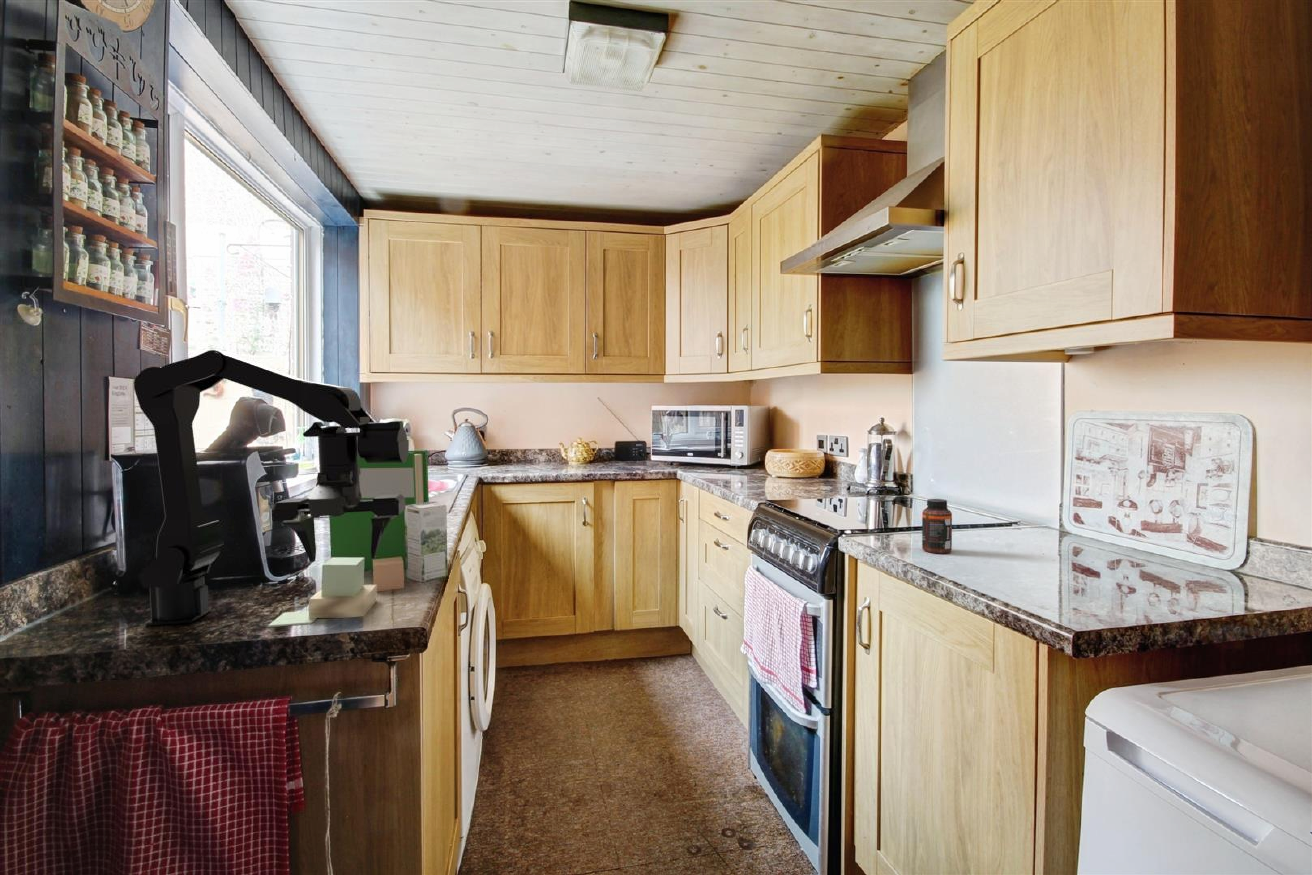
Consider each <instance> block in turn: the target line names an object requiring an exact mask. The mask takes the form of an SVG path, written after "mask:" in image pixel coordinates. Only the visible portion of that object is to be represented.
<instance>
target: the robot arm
mask: <svg viewBox="0 0 1312 875" xmlns="http://www.w3.org/2000/svg"><path fill="white" fill-rule="evenodd" d="M223 380H228V381H230V382H233V383H236V384H239V385H241V386H242V385H243V386H245V387H247V388H251V389H253V390H256V391H259V392H262V393H265V394H268V395H270V396H274V397H276V398H280V399H282V400H286V401H288V402H290V403H292V405H295V406H296V407H298V409H300V410H302V411H303V412H304V413H307V414H308V415H310V416H312V417H314V418H315V419H318V421H314V422H313V423H312V424H311V426H310V427H309V428H307V429H306V430H305V431H304V432H303V433H302V435H303V436H304V437H306V438H311V437H313V438H315V437H316V438H317V440H318V441H317V443H318V465H319V467H318V468H319V472H317V476H316V485H315V486H314V487H313V488H312V489H311V491H310V492H309V493H308V495H307V497H302V498H301V497H299V498H286V499H283V500H281V501H280V500H279V501H278V502H277V501H276V502H275V503H274V505H273V506H272V508H271V521H273V522H281V525H282V526H283V527H288V528H290V529H291V530H293V532H294V533H295V534H296V536H297V537H298V540H299V541H300V543H301V544H302V547H303V550H304V551H305V554H306V556H307V558H308V559H309V562H310V563H314V562H316V556H317V554H316V553H317V548H316V546H317V545H316V534H315V533H316V531H315V518H320V517H329V516H333V517H338V516H341V515H343V514H344V513H346V512H368V511H372V512H373V513H374V514H375V515H376V516H375V517H373V518H372V519H371V524H372V538H371V558H372V559H374V558H375V557H376V554H377V551H378V548H379V545H380V542H381V539H382V536H383V534H384V531H385V529H386V527H387V525H388V523H389V521H390V520H392V519H393V518H395V517H396V516H397V515H399V514H401V513H402V512H403V511H405V510H406V509H405V498H404V497H403V496H402V495H401V494H392V495H379V496H377V497H375V498H374V499H373V500H363V501H360V500H361V499H362V495H361V492H360V479H359V475H360V474H361V471H360V468H359V456H360V457H361V458H364V459H365V461H366V462H367V463H400V462H405V461H406V460H407V457H408V452H409V451H410V449H409V448H410V444H409V439H408V437H407V436H408V434H407V433H406V430H405V428H404V421H403V420H393V421H387V422H375V421H374V420H373V418H372V416H370V415H369V413H368V412H367V411H366V410H365V409H364V408H363V406H362V402H361V399H360V396H359V395H358V393H357V391H355V390H354V389H352V388H350V387H346V386H340V385H334V384H331V383H330V384H329V383H324V382H316V381H310V380H305V379H302V378H300V377H296V376H293V375H291V374H288V373H285V372H282V371H279V370H276V369H273V368H271V367H268V366H264V365H263V364H259V363H257V362H254V361H251V360H248V359H245V358H243V357H239V356H237V355H236V354H234V353H233V352H230V351H223V350H216V349H209V350H207V351H205V352H202V353H201V354H198V355H195V356H193V357H188V358H186V359H181V360H179V361H175V362H171V363H167V364H165V365H163V366H149V367H145V369H142V370H141V371H140V372H139V374H138V375H136V376H135V377H134V379H133V389H134V393H135V396H136V398H137V399H136V400H137V402H138V405H139V408H140V411H142V413H143V414H144V415H145V417H146V418H147V419H148V421H149V422H150V423H151V425H152V427H153V431H154V440H155V446H156V447H155V448H156V455H157V464H158V470H159V477H160V478H159V479H160V486H161V495H162V502H163V509H164V520H163V522H162V525H161V527H160V530H159V532H158V535H157V537H156V538H157V539H156V552H155V558H154V559H153V560H152V561H151V562H150V563H149V564H148V565H147V566H146V567H145V568H144V569H143V570H142V571H141V572H140V573H139V574H138V579H139V581H140V583H141V585H142V586H141V587H143V588H144V589H149V601H150V616H151V619H149V620H147V621H145V622H144V626H163V625H176V624H189V623H193V622H195V621H196V620H198V619H200V618H201V617H203V616H204V615H206V614H207V613H209V612H210V611H212V607H211V606H210V603H209V602H210V600H209V586H208V585H205V576H204V575H203V574H207V573H209V571H210V568H211V566H212V563H213V562H214V561H215V560H216V559H217V557H218V556H219V555H220V553H221V546H223V545H225V542H224V539H223V538H222V535H221V534H222V532H221V531H222V530H221V529H222V524H221V521H220V520H219V519H218V520H214V521H210V519H209V518H208V517H207V515H206V514H205V512H204V509H203V503H202V502H203V501H202V493H201V492H202V491H201V485H200V479H199V478H200V476H199V468H198V462H197V460H198V459H197V454H196V452H197V451H196V445H195V444H196V443H195V436H194V428H193V423H194V420H195V417H196V415H197V413H198V410H199V408H200V401H201V393H202V392H204V391H207V390H209V389H212V388H213V387H215V386H216V385H218V384H219V383H220V382H222V381H223ZM323 422H324V423H335V424H337V425H325V424H324V423H323ZM347 429H359V431H347ZM358 453H359V456H358ZM347 507H350V508H347ZM282 521H283V522H282Z"/></svg>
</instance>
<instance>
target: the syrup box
mask: <svg viewBox="0 0 1312 875" xmlns="http://www.w3.org/2000/svg"><path fill="white" fill-rule="evenodd" d="M405 509H406V510H405V548H406V571H405V578H407V579H409V580H412V581H416V582H419V583H425V582H430V581H434V580H438V579H442V578H447V577H448V574H449V573H448V571H449V570H448V569H449V568H448V566H449V565H448V524H447V522H448V520H447V518H448V517H447V516H448V515H447V513H448V512H447V505H446V504H445V503H442V502H438V501H429V502H426V503H419V504H412V505H405Z"/></svg>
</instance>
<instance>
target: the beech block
mask: <svg viewBox="0 0 1312 875" xmlns="http://www.w3.org/2000/svg"><path fill="white" fill-rule="evenodd" d="M321 592H322V588H321V589H319V590H318V591H317V592H316V593H315V594H313V595H312V596H311V597H310V598H309V599H308V611H309V618H317V619H333V618H334V619H335V618H336V619H339V618H342V619H343V618H353V617H354V618H357V617H365V615H366V614H367V613H368V611H369V610H370V609H371V608H372V606H374V604H375V603H376V602H377V595H378V594H377V592H378V591H377V585H374V584H364V587H363V588H362V589H361V590H360V591H359V592H358V593H357V595H356V596H321Z"/></svg>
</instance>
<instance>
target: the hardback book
mask: <svg viewBox="0 0 1312 875" xmlns="http://www.w3.org/2000/svg"><path fill="white" fill-rule="evenodd" d="M358 456H359V453H358ZM359 468H360V471H361V474H360V475H359V479H360V492H361V495H362V499H361V500H360V501H363V500H373V499H374V498H375V497H377V496H379V495H392V494H401V495H402V496H403V497H404V498H405V505H412V504H419V503H426V502H430V501H429V500H430V498H429V496H430V495H429V494H430V493H429V469H428V468H429V466H428V450H409V452H408V457H407V460H406V461H405V462H400V463H367V462H366V461H365V459H364V458H361V457H360V456H359ZM347 508H350V507H347ZM375 516H376V515H375V514H374V513H373V512H372V511H368V512H346V513H344V514H343V515H341V516H338V517H333V516H328V519H329V542H330V543H329V546H330V548H329V549H330V559H331V558H332V557H346V558H365V559H364V570H373V560H375V559H384V558H393V557H402V560H403V569H404V570H406V548H405V511H403V512H402V513H401V514H399V515H397V516H396V517H395V518H393V519H392V520H390V521H389V523H388V525H387V527H386V529H385V531H384V534H383V536H382V539H381V542H380V545H379V548H378V551H377V554H376V557H375V558H374V559H372V558H371V538H372V524H371V519H372V518H373V517H375Z"/></svg>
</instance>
